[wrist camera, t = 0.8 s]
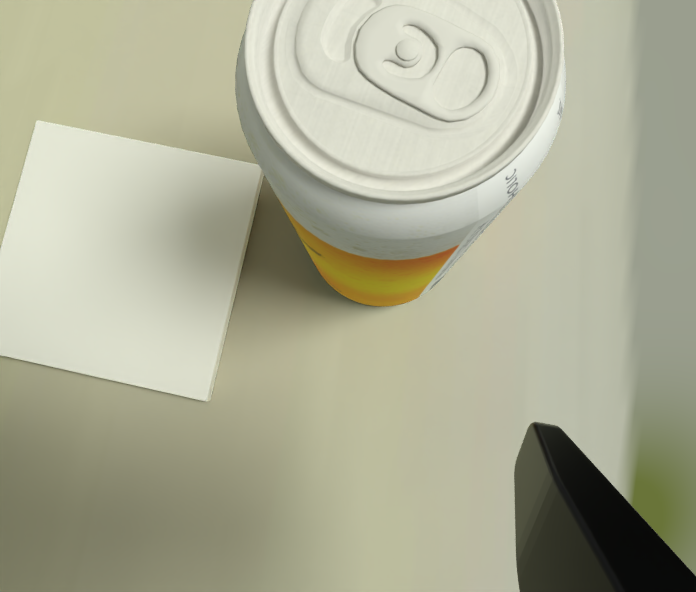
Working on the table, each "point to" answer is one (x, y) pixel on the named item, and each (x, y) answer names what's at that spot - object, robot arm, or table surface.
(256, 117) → the beer can
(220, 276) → the mat
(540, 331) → the table surface
